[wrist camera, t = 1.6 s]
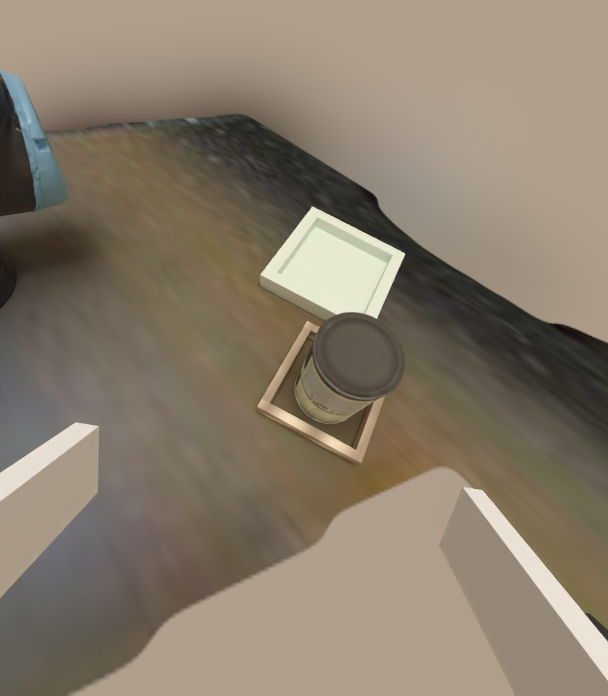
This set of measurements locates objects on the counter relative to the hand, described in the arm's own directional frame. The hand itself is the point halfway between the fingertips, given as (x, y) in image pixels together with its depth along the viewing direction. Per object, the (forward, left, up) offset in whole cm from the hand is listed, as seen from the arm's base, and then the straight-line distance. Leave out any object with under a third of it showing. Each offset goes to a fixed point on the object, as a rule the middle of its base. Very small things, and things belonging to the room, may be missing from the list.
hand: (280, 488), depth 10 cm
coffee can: (+3, +16, -29) cm, 33 cm away
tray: (-5, +37, -29) cm, 47 cm away
